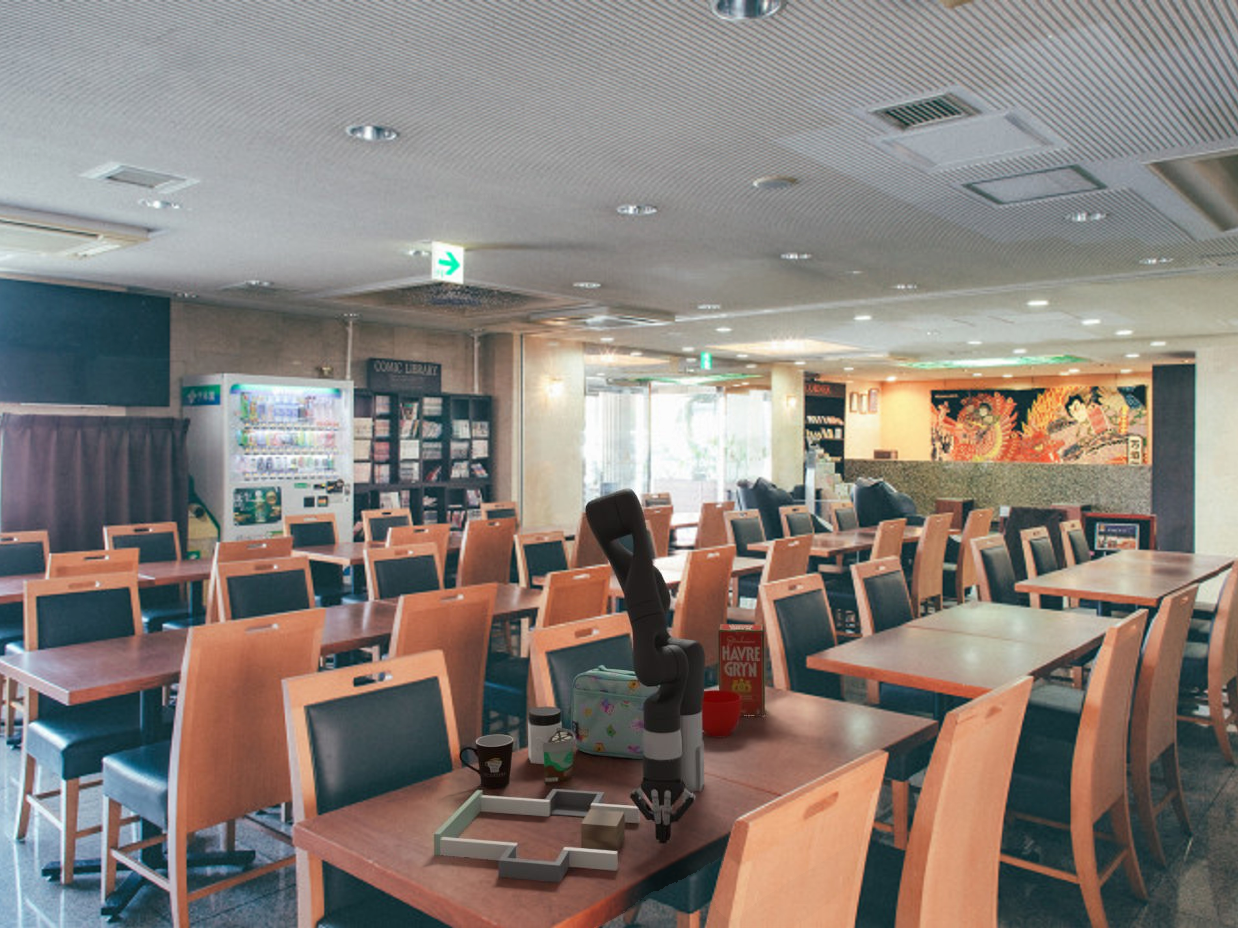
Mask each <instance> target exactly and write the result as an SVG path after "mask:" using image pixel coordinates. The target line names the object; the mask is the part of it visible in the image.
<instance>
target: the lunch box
mask: <svg viewBox="0 0 1238 928" xmlns="http://www.w3.org/2000/svg"><path fill="white" fill-rule="evenodd" d="M659 688H660V685H658V686H653V687H647V686H644V685H643V684H642V683H641V682H640V681H639V680H638V679H637V677H636V675H635V672H634V670H633V671H631V670H626V669H625V670H623V669H613V668H612V669H611V668H606V667H605V665H603V664H601V665H598V666H597V668H594V669H590V670H587V671H585V672H581V673H579V674H577V675H576V676H575V677H574V678H573V681H572V683H571V701H570V705H569V707H568V711H567V714H569V715H570V730H571V731H572V732H573V733H574V735H575V738H576V742H577V744H576V745H575V746H574V747H575V748H577V750H578V751H581V752H583V753H587V754H590V755H594V756H595V755H596V756H602V757H612V758H613V757H614V758H625V759H626V758H627V759H634V760H643V751H642V745H643V732H644V702H645V700H646V699H647V698H648V697H650V696H652V695H654V694H655V693H656V692H657V691H658V690H659Z"/></svg>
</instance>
